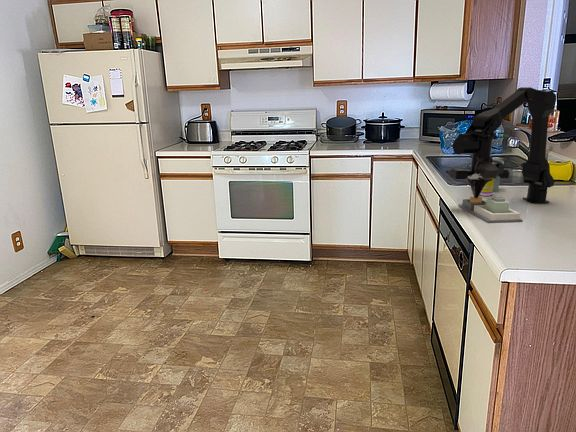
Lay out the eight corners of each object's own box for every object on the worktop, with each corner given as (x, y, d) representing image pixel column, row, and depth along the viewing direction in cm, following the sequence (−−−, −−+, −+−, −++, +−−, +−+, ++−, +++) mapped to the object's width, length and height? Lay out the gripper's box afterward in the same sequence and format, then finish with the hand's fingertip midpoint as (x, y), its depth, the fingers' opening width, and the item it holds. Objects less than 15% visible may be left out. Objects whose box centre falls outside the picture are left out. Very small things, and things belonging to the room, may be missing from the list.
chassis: (458, 206, 158) (459, 198, 158) (488, 205, 160) (489, 197, 159) (487, 222, 139) (488, 214, 139) (522, 221, 140) (523, 213, 140)
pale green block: (484, 212, 148) (486, 196, 147) (497, 212, 149) (499, 195, 147) (494, 217, 142) (496, 200, 141) (507, 217, 143) (510, 200, 141)
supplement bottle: (495, 194, 175) (500, 162, 171) (485, 197, 171) (490, 164, 167) (480, 191, 180) (484, 160, 176) (470, 193, 176) (474, 161, 173)
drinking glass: (493, 186, 189) (496, 158, 185) (505, 192, 179) (509, 162, 176) (469, 186, 188) (472, 158, 185) (480, 192, 179) (484, 162, 175)
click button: (466, 204, 156) (467, 196, 156) (477, 204, 157) (478, 196, 156) (472, 207, 153) (473, 199, 152) (483, 207, 153) (484, 198, 152)
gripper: (466, 157, 141) (461, 204, 145) (522, 156, 143) (515, 202, 147) (450, 152, 152) (446, 196, 156) (502, 151, 153) (496, 194, 158)
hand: (476, 197), depth 154 cm, fingers closed, pressing on click button
